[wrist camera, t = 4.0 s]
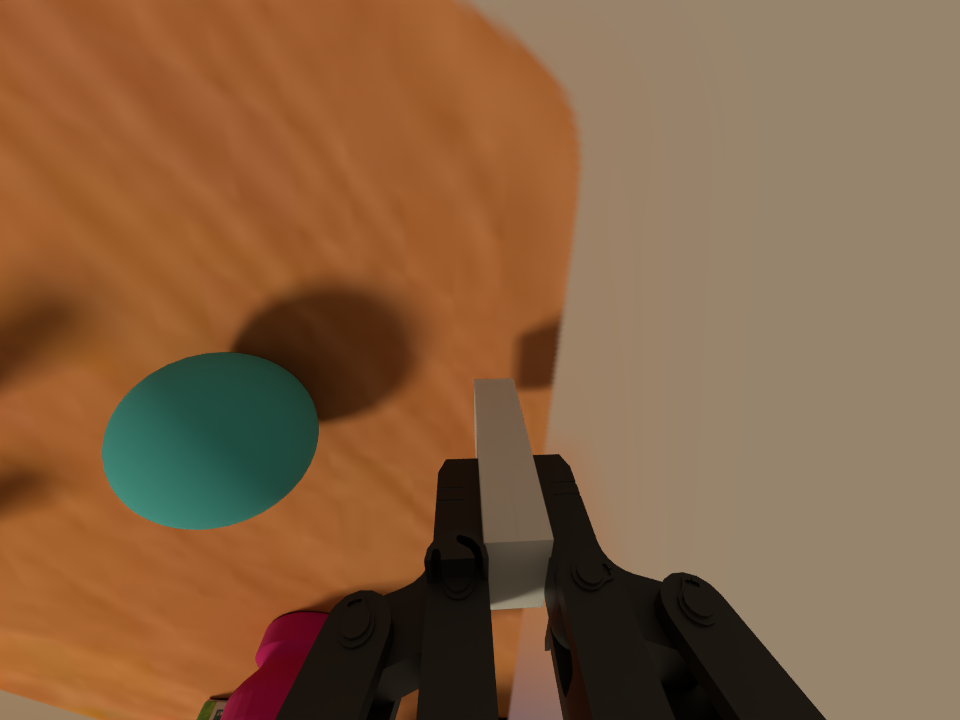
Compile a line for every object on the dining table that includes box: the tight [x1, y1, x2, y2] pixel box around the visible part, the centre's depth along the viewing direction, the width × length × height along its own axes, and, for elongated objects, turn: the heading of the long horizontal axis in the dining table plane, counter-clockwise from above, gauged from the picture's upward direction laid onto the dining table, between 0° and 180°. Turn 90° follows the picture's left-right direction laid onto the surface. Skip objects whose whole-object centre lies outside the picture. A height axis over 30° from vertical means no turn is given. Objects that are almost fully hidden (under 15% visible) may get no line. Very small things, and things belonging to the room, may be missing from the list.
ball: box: [102, 352, 319, 530], centre depth 12 cm, size 6×6×6 cm
